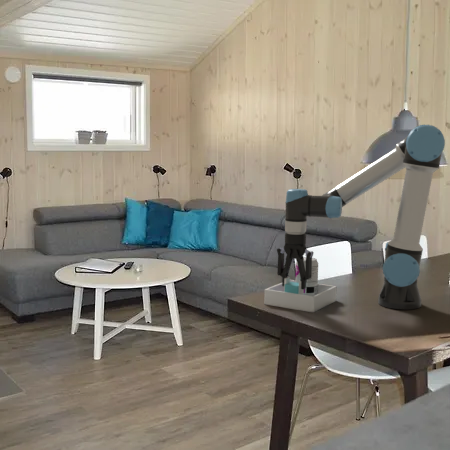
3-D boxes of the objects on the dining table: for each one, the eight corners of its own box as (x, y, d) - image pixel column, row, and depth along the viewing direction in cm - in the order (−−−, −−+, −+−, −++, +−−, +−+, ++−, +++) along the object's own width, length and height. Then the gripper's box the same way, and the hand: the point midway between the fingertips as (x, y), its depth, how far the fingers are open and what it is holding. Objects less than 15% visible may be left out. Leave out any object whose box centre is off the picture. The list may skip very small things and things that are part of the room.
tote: (336, 300, 235) (336, 286, 235) (313, 312, 219) (314, 297, 218) (289, 293, 246) (289, 279, 245) (264, 304, 230) (264, 289, 229)
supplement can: (294, 300, 232) (295, 260, 230) (296, 295, 240) (297, 256, 238) (316, 302, 231) (317, 261, 229) (317, 296, 239) (318, 257, 237)
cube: (297, 300, 224) (297, 286, 224) (284, 298, 227) (284, 284, 226) (303, 297, 228) (303, 283, 228) (290, 295, 231) (291, 281, 230)
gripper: (323, 233, 223) (321, 298, 226) (278, 229, 232) (276, 290, 235) (314, 236, 216) (311, 302, 219) (268, 231, 226) (266, 295, 229)
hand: (293, 296), depth 227 cm, fingers closed on cube, 5 cm apart
